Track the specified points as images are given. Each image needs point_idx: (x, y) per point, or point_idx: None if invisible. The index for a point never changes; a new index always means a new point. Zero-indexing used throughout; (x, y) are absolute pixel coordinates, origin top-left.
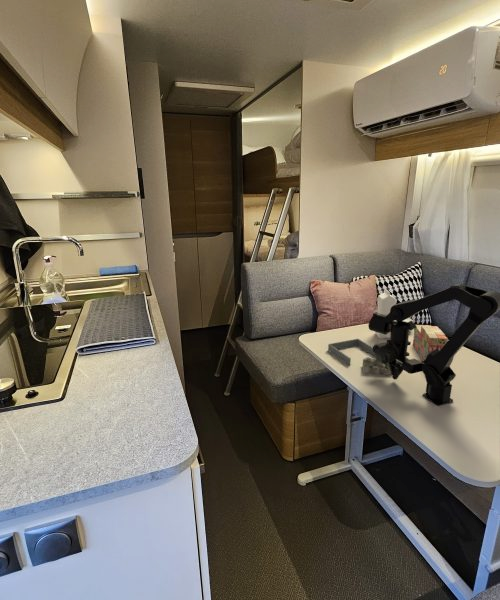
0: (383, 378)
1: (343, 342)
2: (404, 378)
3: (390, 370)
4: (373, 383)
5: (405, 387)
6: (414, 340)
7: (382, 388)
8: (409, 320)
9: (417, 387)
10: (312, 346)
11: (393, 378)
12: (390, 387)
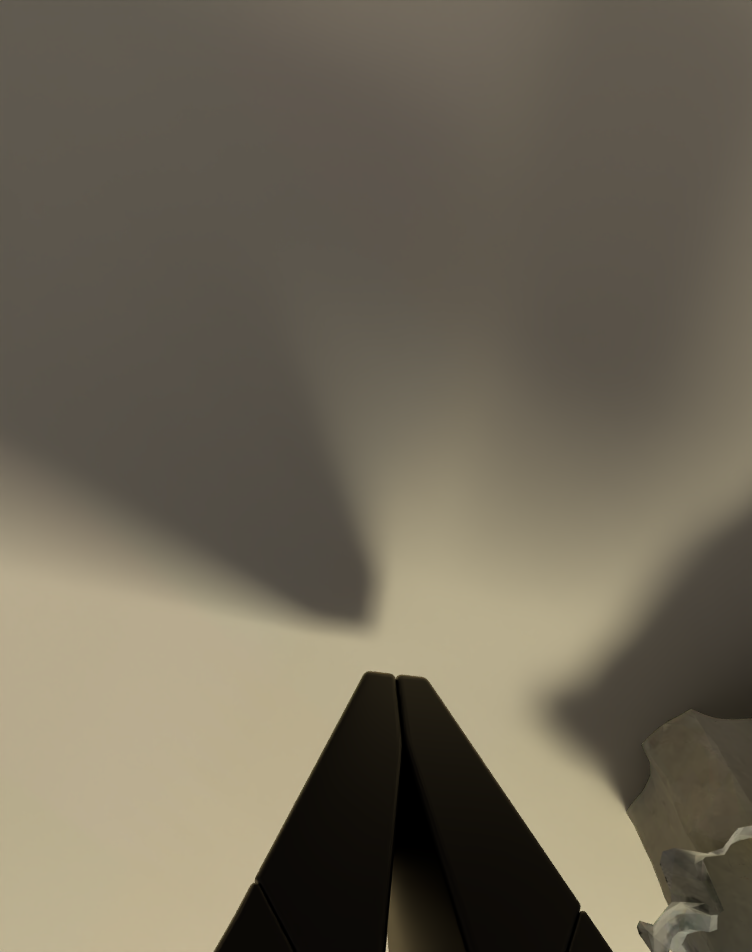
0: (636, 559)
1: None
2: None
3: (674, 871)
4: (667, 90)
5: (91, 650)
6: None
7: (295, 100)
8: None
9: (11, 809)
10: None
11: (400, 682)
12: (232, 367)
